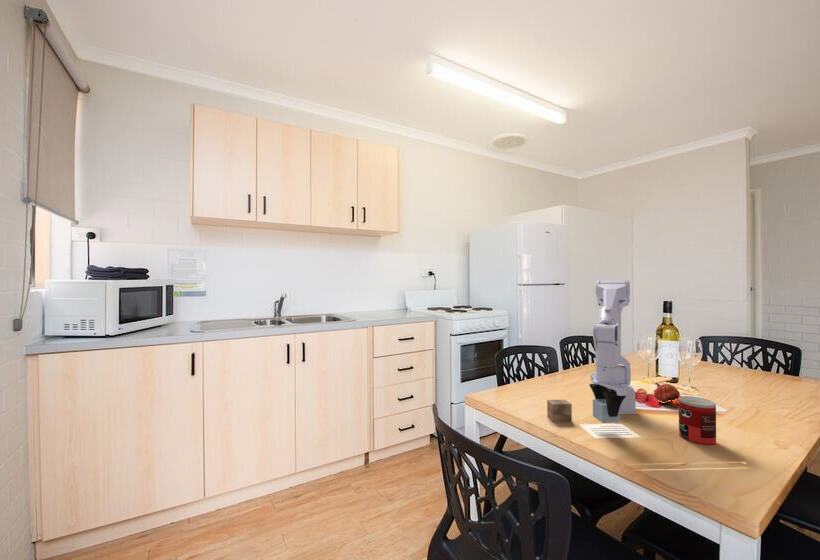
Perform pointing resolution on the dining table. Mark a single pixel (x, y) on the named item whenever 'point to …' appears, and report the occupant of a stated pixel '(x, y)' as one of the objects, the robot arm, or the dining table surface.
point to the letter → (609, 431)
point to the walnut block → (559, 410)
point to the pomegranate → (666, 392)
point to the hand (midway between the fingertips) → (607, 412)
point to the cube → (603, 412)
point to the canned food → (697, 420)
